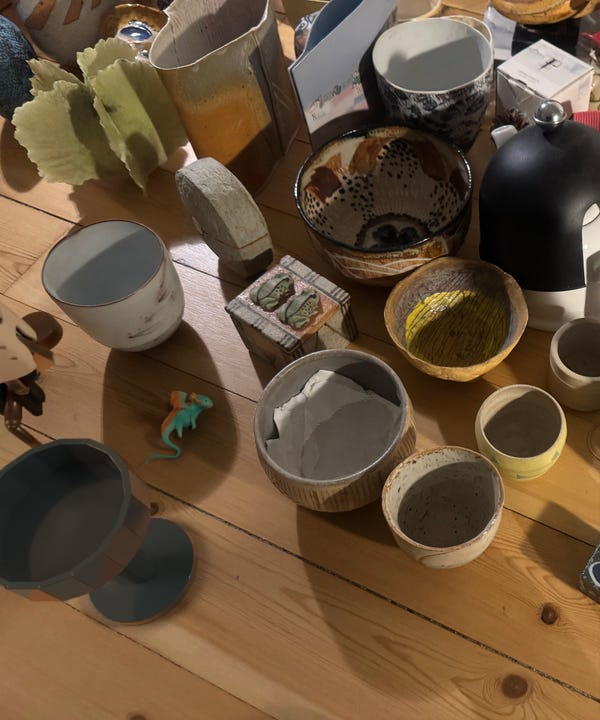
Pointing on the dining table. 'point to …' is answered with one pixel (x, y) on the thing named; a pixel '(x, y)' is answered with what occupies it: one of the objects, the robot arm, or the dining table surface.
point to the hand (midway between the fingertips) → (28, 406)
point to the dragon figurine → (182, 416)
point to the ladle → (48, 338)
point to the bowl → (89, 534)
